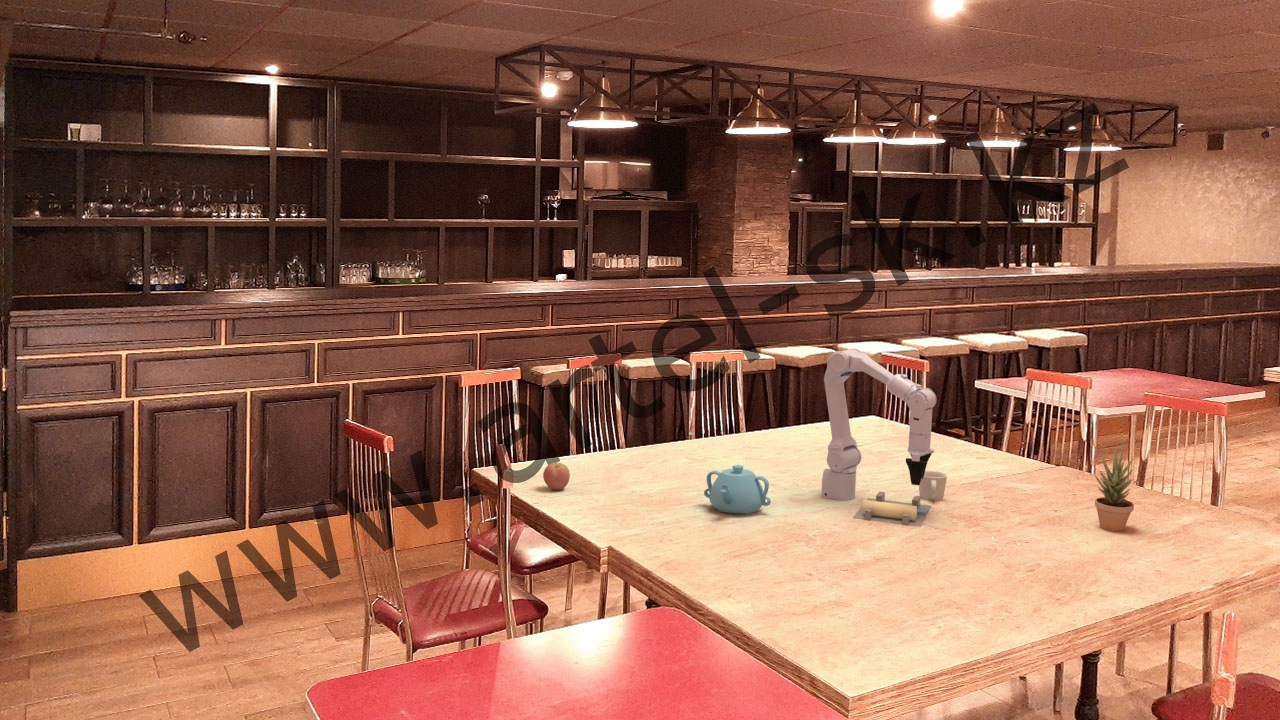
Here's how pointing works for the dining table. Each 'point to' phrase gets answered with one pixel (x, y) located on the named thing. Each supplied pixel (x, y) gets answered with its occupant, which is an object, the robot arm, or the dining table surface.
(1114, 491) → the potted plant
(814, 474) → the dining table surface
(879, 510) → the tan tapered cylinder
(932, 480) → the cup
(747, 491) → the teapot
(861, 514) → the board
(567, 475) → the apple
